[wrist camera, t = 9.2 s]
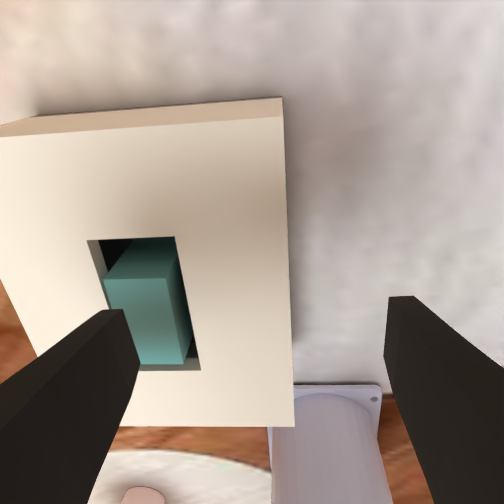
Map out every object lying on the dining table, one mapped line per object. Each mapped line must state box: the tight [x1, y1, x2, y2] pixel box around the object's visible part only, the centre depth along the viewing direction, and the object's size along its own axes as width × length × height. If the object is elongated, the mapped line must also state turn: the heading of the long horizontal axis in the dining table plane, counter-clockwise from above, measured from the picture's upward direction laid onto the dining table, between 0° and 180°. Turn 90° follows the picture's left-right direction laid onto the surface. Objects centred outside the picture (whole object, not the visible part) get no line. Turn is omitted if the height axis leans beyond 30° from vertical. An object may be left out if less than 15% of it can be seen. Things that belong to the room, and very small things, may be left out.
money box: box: [0, 96, 295, 427], centre depth 18 cm, size 15×12×6 cm
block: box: [103, 236, 194, 364], centre depth 18 cm, size 4×2×6 cm, turn 4°
